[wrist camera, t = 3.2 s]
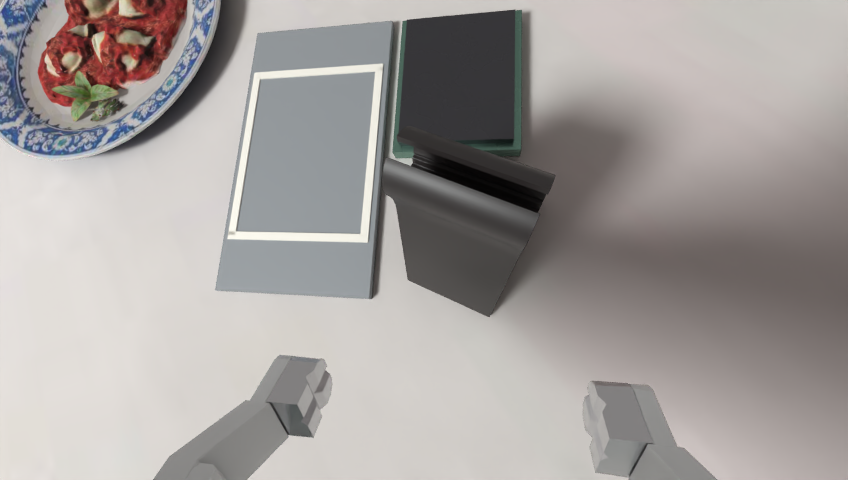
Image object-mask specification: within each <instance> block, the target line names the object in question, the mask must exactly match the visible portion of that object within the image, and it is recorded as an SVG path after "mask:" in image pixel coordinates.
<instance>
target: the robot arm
mask: <svg viewBox="0 0 848 480" xmlns="http://www.w3.org/2000/svg"><path fill="white" fill-rule="evenodd" d="M326 367H327V364H326V362H325V360H324V359H316V358H306V357H296V356H285V355H279V356H278V357H277V358H276V359H275V360H274V361H273V363H272V365H271V366H270V368H269V370H268V371H267V373H266V375H265V376H264V378H263V380H262V381H261V383H260V385H259V386H258V388H257V390H256V391H255V393H254V395H253V396H252V398H251V399H250V401H248V400H245V401H244V402H243V403H241V404H240V405H239V406H237V407H236V408H235V409H233V410H232V411H230V412H229V413H228V414H226V415H225V416H224V417H222V418H221V419H220V420H218V421H217V422H216V423H214V424H213V425H212V426H210V427H209V428H207V429H206V430H205V431H203V432H202V433H201V434H199V435H198V436H197V437H195V438H194V439H193V440H191V441H190V442H188V443H187V444H186V445H184V446H183V447H182V448H180V449H179V450H178V451H176V452H175V453H174V454H172V455H171V456H169V458H168V459H167V461H166V462H165V464H164V465H163V466H162V468H161V469H160V471H159V472H158V473H157V475H156V476H155V478H154V479H153V480H247V479H248V478H249V477H250V476H251V475H252V474H253V473H254V472H255V471H256V470H257V469H258V468H259V467H260V466H261V465H262V464H263V463H264V462H265V461H266V459H267V458H268V457H269V456H270V455H271V454H272V453H273V452H274V451H275V450H276V449H277V448H278V447H279V446H280V445H281V444H282V443H283V442H284V441H285V440H286V439H287V438H288V437H289V436H288V435H292V436H302V437H313V438H314V435H315V433H316V430H317V428H318V425H319V423H320V420H321V418H322V415H321V411H320V409H321V408H323V407H324V406H325V405H326V404H327V403H328V400H329V398H330V395H331V390H332V378H331V375H330V374H329V373H328V372H327V371H326V370H325V369H326ZM588 392H589V395H587V396H585V397H584V402H583V419H584V425H585V430H586V432H587V433H588V434H589V435H590V436H591V437H592V441H591V444H590V452H591V456H592V460H593V464H594V469H595V473H602V474H609V475H615V476H622V477H629V480H717V479H716V478H715V477H714V476H713V475H712V474H711V473H710V472H709V471H708V470H707V469H706V468H705V467H703V466H702V465H701V464H700V463H699V462H698V461H697V460H696V459H695V458H694V457H693V456H692V455H691V454H690V453H689V452H688V451H687V450H686V449H685V448H681V447H677V444H676V442H675V440H674V438H673V435H672V433H671V431H670V428H669V426H668V424H667V421H666V419H665V417H664V414H663V412H662V410H661V407H660V405H659V403H658V400H657V398H656V396H655V393H654V391H653V389H652V388H651V387H650V386H648V385H639V384H628V383H617V382H602V381H590V382H589V384H588Z"/></svg>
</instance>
